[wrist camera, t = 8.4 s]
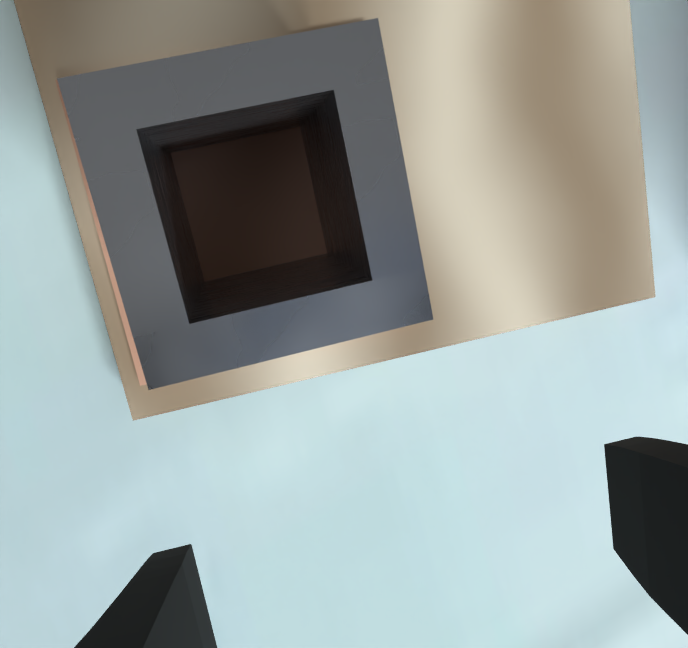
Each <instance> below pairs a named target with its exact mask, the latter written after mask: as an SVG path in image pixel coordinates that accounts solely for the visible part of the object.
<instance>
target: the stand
mask: <svg viewBox="0 0 688 648" xmlns="http://www.w3.org/2000/svg"><path fill="white" fill-rule="evenodd" d="M14 3H15V6H16V10H17V13H18V17H19V21H20V24H21V28H22V31H23V35H24V38H25V42H26V45H27V49H28V52H29V56H30V59H31V63H32V66H33V70H34V73H35V77H36V80H37V84H38V87H39V91H40V95H41V98H42V102H43V105H44V109H45V112H46V116H47V119H48V123H49V126H50V130H51V133H52V137H53V140H54V144H55V147H56V151H57V154H58V158H59V161H60V165H61V169H62V172H63V176H64V179H65V183H66V186H67V190H68V193H69V197H70V200H71V204H72V207H73V211H74V214H75V218H76V221H77V225H78V228H79V232H80V235H81V239H82V243H83V246H84V250H85V253H86V257H87V260H88V264H89V267H90V271H91V274H92V278H93V281H94V285H95V288H96V292H97V295H98V299H99V302H100V306H101V309H102V313H103V317H104V320H105V324H106V327H107V331H108V334H109V338H110V341H111V345H112V348H113V352H114V355H115V359H116V362H117V366H118V369H119V373H120V376H121V380H122V383H123V387H124V390H125V394H126V398H127V401H128V405H129V408H130V412H131V415H132V419H133V420H137V419H141V418H146V417H150V416H154V415H158V414H163V413H167V412H171V411H175V410H180V409H184V408H188V407H192V406H196V405H201V404H205V403H209V402H213V401H218V400H222V399H226V398H230V397H234V396H239V395H243V394H247V393H251V392H256V391H260V390H264V389H268V388H273V387H277V386H281V385H285V384H289V383H294V382H298V381H302V380H306V379H311V378H315V377H319V376H323V375H327V374H332V373H336V372H340V371H344V370H349V369H353V368H357V367H361V366H366V365H370V364H374V363H378V362H382V361H387V360H391V359H395V358H399V357H404V356H408V355H412V354H416V353H420V352H425V351H429V350H433V349H437V348H442V347H446V346H450V345H454V344H459V343H463V342H467V341H471V340H475V339H480V338H484V337H488V336H492V335H497V334H501V333H505V332H509V331H513V330H518V329H522V328H526V327H530V326H535V325H539V324H543V323H547V322H552V321H556V320H560V319H564V318H568V317H573V316H577V315H581V314H585V313H590V312H594V311H598V310H602V309H606V308H611V307H615V306H619V305H623V304H628V303H632V302H636V301H640V300H645V299H649V298H653V297H655V287H654V275H653V264H652V252H651V241H650V229H649V218H648V206H647V195H646V184H645V172H644V161H643V149H642V138H641V126H640V115H639V103H638V92H637V81H636V69H635V58H634V46H633V35H632V23H631V12H630V0H14ZM375 18H378V20H379V26H380V31H381V37H382V42H383V48H384V53H385V58H386V64H387V69H388V75H389V80H390V86H391V91H392V96H393V102H394V107H395V113H396V118H397V124H398V129H399V134H400V140H401V145H402V151H403V156H404V162H405V167H406V173H407V178H408V183H409V189H410V194H411V200H412V205H413V211H414V216H415V221H416V227H417V232H418V238H419V243H420V249H421V254H422V259H423V265H424V270H425V276H426V281H427V287H428V292H429V298H430V303H431V308H432V314H433V320H429V321H425V322H421V323H417V324H413V325H409V326H405V327H401V328H397V329H393V330H389V331H385V332H381V333H377V334H373V335H369V336H365V337H361V338H357V339H353V340H349V341H345V342H341V343H337V344H333V345H329V346H325V347H321V348H317V349H313V350H308V351H304V352H300V353H296V354H292V355H288V356H284V357H280V358H276V359H272V360H268V361H264V362H260V363H256V364H252V365H248V366H244V367H240V368H236V369H232V370H228V371H224V372H220V373H216V374H212V375H208V376H204V377H200V378H196V379H192V380H188V381H184V382H180V383H175V384H171V385H167V386H163V387H159V388H155V389H151V390H148V387H147V383H146V380H145V377H144V373H143V370H142V366H141V363H140V360H139V356H138V353H137V349H136V346H135V343H134V339H133V336H132V332H131V329H130V326H129V322H128V319H127V315H126V312H125V309H124V305H123V302H122V298H121V295H120V292H119V288H118V285H117V281H116V278H115V275H114V271H113V268H112V264H111V261H110V258H109V254H108V251H107V247H106V244H105V241H104V237H103V234H102V230H101V227H100V224H99V220H98V217H97V213H96V210H95V207H94V203H93V200H92V196H91V193H90V190H89V186H88V183H87V179H86V176H85V173H84V169H83V166H82V162H81V159H80V156H79V152H78V149H77V145H76V142H75V139H74V135H73V132H72V128H71V125H70V122H69V118H68V115H67V111H66V108H65V105H64V101H63V98H62V94H61V91H60V88H59V84H58V81H57V78H62V77H67V76H73V75H78V74H83V73H89V72H94V71H99V70H104V69H110V68H115V67H120V66H126V65H131V64H136V63H142V62H147V61H152V60H157V59H163V58H168V57H173V56H179V55H184V54H189V53H195V52H200V51H205V50H210V49H216V48H221V47H226V46H232V45H237V44H242V43H248V42H253V41H258V40H263V39H269V38H274V37H279V36H285V35H290V34H295V33H301V32H306V31H311V30H316V29H322V28H327V27H332V26H338V25H343V24H348V23H354V22H359V21H364V20H369V19H375ZM171 156H172V160H173V163H174V167H175V171H176V175H177V179H178V182H179V186H180V190H181V194H182V198H183V201H184V205H185V209H186V213H187V217H188V220H189V224H190V228H191V232H192V236H193V239H194V243H195V247H196V251H197V255H198V259H199V262H200V266H201V270H202V274H203V278H204V281H209V280H213V279H217V278H222V277H226V276H230V275H235V274H239V273H243V272H248V271H252V270H256V269H261V268H265V267H269V266H274V265H278V264H282V263H287V262H291V261H295V260H300V259H304V258H308V257H313V256H317V255H321V254H326V253H327V249H326V245H325V240H324V235H323V231H322V226H321V222H320V217H319V212H318V208H317V203H316V199H315V194H314V189H313V185H312V180H311V176H310V171H309V166H308V162H307V157H306V152H305V148H304V143H303V139H302V134H301V129H300V126H299V127H295V128H290V129H285V130H280V131H275V132H270V133H266V134H261V135H256V136H251V137H246V138H241V139H236V140H232V141H227V142H222V143H217V144H212V145H207V146H202V147H198V148H193V149H188V150H183V151H178V152H173V153H171Z"/></svg>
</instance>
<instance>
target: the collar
mask: <svg viewBox="0 0 688 648" xmlns="http://www.w3.org/2000/svg"><path fill="white" fill-rule="evenodd" d="M57 81H58V84H59V88H60V91H61V94H62V98H63V101H64V105H65V108H66V111H67V115H68V118H69V122H70V125H71V128H72V132H73V135H74V139H75V142H76V145H77V149H78V152H79V156H80V159H81V162H82V166H83V169H84V173H85V176H86V179H87V183H88V186H89V190H90V193H91V196H92V200H93V203H94V207H95V210H96V213H97V217H98V220H99V224H100V227H101V230H102V234H103V237H104V241H105V244H106V247H107V251H108V254H109V258H110V261H111V264H112V268H113V271H114V275H115V278H116V281H117V285H118V288H119V292H120V295H121V298H122V302H123V305H124V309H125V312H126V315H127V319H128V322H129V326H130V329H131V332H132V336H133V339H134V343H135V346H136V349H137V353H138V356H139V360H140V363H141V366H142V370H143V373H144V377H145V380H146V383H147V387H148V390H151V389H155V388H159V387H163V386H167V385H171V384H175V383H180V382H184V381H188V380H192V379H196V378H200V377H204V376H208V375H212V374H216V373H220V372H224V371H228V370H232V369H236V368H240V367H244V366H248V365H252V364H256V363H260V362H264V361H268V360H272V359H276V358H280V357H284V356H288V355H292V354H296V353H300V352H304V351H308V350H313V349H317V348H321V347H325V346H329V345H333V344H337V343H341V342H345V341H349V340H353V339H357V338H361V337H365V336H369V335H373V334H377V333H381V332H385V331H389V330H393V329H397V328H401V327H405V326H409V325H413V324H417V323H421V322H425V321H429V320H433V314H432V308H431V303H430V298H429V292H428V287H427V281H426V276H425V270H424V265H423V259H422V254H421V249H420V243H419V238H418V232H417V227H416V221H415V216H414V211H413V205H412V200H411V194H410V189H409V183H408V178H407V173H406V167H405V162H404V156H403V151H402V145H401V140H400V134H399V129H398V124H397V118H396V113H395V107H394V102H393V96H392V91H391V86H390V80H389V75H388V69H387V64H386V58H385V53H384V48H383V42H382V37H381V31H380V26H379V20H378V18H375V19H369V20H364V21H359V22H354V23H348V24H343V25H338V26H332V27H327V28H322V29H316V30H311V31H306V32H301V33H295V34H290V35H285V36H279V37H274V38H269V39H263V40H258V41H253V42H248V43H242V44H237V45H232V46H226V47H221V48H216V49H210V50H205V51H200V52H195V53H189V54H184V55H179V56H173V57H168V58H163V59H157V60H152V61H147V62H142V63H136V64H131V65H126V66H120V67H115V68H110V69H104V70H99V71H94V72H89V73H83V74H78V75H73V76H67V77H62V78H57ZM299 126H300V129H301V134H302V139H303V143H304V148H305V152H306V157H307V162H308V166H309V171H310V176H311V180H312V185H313V189H314V194H315V199H316V203H317V208H318V212H319V217H320V222H321V226H322V231H323V235H324V240H325V245H326V249H327V253H326V254H321V255H317V256H313V257H308V258H304V259H300V260H295V261H291V262H287V263H282V264H278V265H274V266H269V267H265V268H261V269H256V270H252V271H248V272H243V273H239V274H235V275H230V276H226V277H222V278H217V279H213V280H209V281H204V278H203V274H202V270H201V266H200V262H199V259H198V255H197V251H196V247H195V243H194V239H193V236H192V232H191V228H190V224H189V220H188V217H187V213H186V209H185V205H184V201H183V198H182V194H181V190H180V186H179V182H178V179H177V175H176V171H175V167H174V163H173V160H172V156H171V153H173V152H178V151H183V150H188V149H193V148H198V147H202V146H207V145H212V144H217V143H222V142H227V141H232V140H236V139H241V138H246V137H251V136H256V135H261V134H266V133H270V132H275V131H280V130H285V129H290V128H295V127H299Z"/></svg>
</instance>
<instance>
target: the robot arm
mask: <svg viewBox="0 0 688 648" xmlns="http://www.w3.org/2000/svg"><path fill="white" fill-rule="evenodd" d="M604 447H605V458H606V469H607V480H608V492H609V503H610V514H611V525H612V536H613V547H614V550H615V551H616V553H617V554H618V555H619V557H620V558H621V559H622V561H623V562H624V564H625V565H626V566H627V568H628V569H629V570H630V572H631V573H632V574H633V576H634V577H635V578H636V579H637V581H638V582H639V583H640V584H641V586H642V587H643V588H644V589H645V591H646V592H647V593H648V595H649V596H650V597H651V598H652V599H653V600H654V601H655V602H656V603H657V604H658V605H659V606H660V607H661V608H662V609H663V610H664V611H665V612H666V613H667V614H668V615H669V616H670V617H671V618H672V619H673V620H674V621H675V622H676V623H677V624H678V625H679V626H680V627H681V628H682V629H683V630H684V631H685V632H686V633H687V634H688V445H687V444H682V443H677V442H672V441H667V440H661V439H654V438H646V437H633V438H629V439H625V440H621V441H616V442H612V443H608V444H604ZM74 648H217V645H216V641H215V637H214V633H213V629H212V625H211V621H210V617H209V613H208V609H207V605H206V601H205V597H204V593H203V589H202V585H201V581H200V577H199V573H198V569H197V565H196V561H195V557H194V553H193V549H192V545H191V544H189V545H185V546H181V547H177V548H173V549H169V550H164V551H160V552H156V553H153V554H152V555H151V556H150V557H149V558H148V560H147V561H146V562H145V563H144V564H143V566H142V567H141V568H140V569H139V570H138V572H137V573H136V574H135V575H134V577H133V578H132V579H131V580H130V582H129V583H128V584H127V586H126V587H125V588H124V589H123V591H122V592H121V593H120V594H119V596H118V597H117V598H116V599H115V600H114V602H113V603H112V604H111V605H110V606H109V608H108V609H107V610H106V611H105V613H104V614H103V615H102V616H101V617H100V619H99V620H98V621H97V622H96V623H95V625H94V626H93V627H92V628H91V629H90V631H89V632H88V633H87V634H86V635H85V636H84V637H83V638H82V640H81V641H80V642H79V643H78V644H77V645H76V646H75V647H74Z"/></svg>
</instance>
